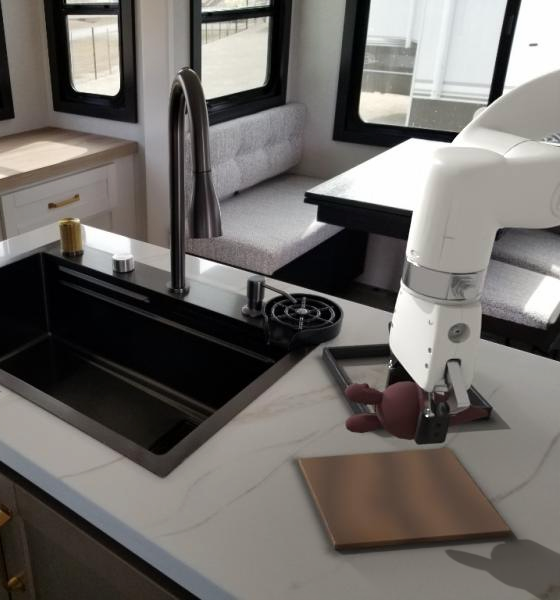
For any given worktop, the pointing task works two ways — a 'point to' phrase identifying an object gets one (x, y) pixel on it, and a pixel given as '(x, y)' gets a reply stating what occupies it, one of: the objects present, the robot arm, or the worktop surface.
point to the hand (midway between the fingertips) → (412, 418)
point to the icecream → (397, 409)
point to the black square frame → (378, 351)
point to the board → (398, 499)
